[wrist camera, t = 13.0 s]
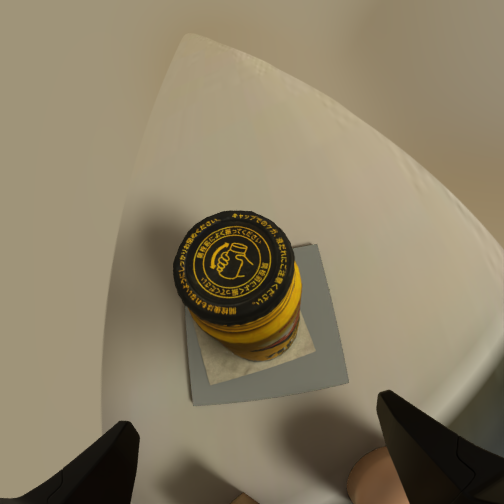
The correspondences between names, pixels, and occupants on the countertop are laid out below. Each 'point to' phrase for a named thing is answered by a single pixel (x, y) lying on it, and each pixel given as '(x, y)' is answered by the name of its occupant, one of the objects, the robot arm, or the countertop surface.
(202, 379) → the slate mat
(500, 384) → the countertop surface
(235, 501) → the walnut block
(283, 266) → the condiment
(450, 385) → the countertop surface
